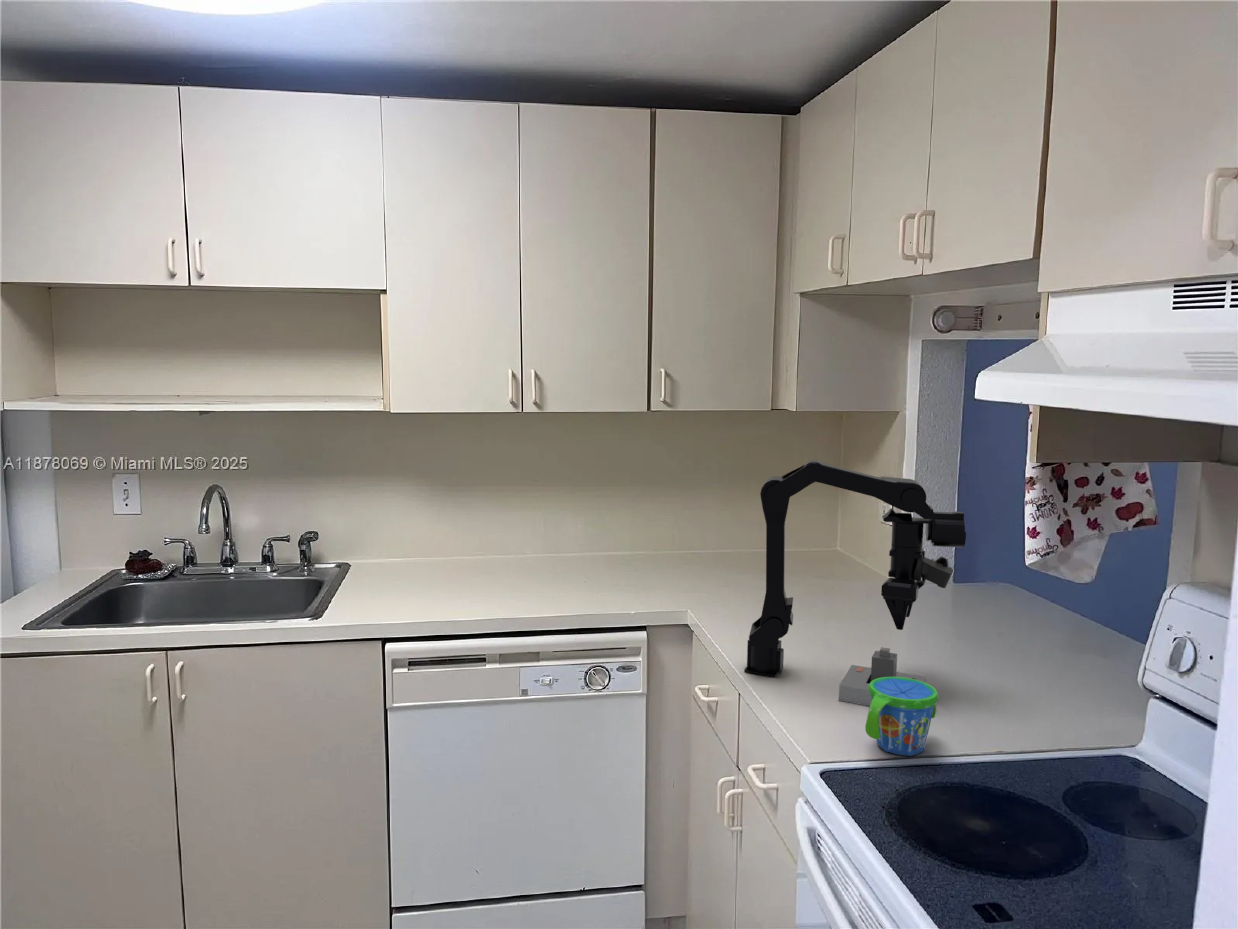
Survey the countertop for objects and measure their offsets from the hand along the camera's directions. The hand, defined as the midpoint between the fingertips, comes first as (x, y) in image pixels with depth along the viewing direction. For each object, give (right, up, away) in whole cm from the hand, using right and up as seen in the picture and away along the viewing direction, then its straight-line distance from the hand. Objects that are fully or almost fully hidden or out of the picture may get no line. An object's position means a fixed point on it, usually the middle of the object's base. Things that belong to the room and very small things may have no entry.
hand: (903, 623), depth 166 cm
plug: (-6, -13, -6) cm, 15 cm away
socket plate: (-6, -13, -6) cm, 15 cm away
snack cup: (-10, -16, -27) cm, 33 cm away
